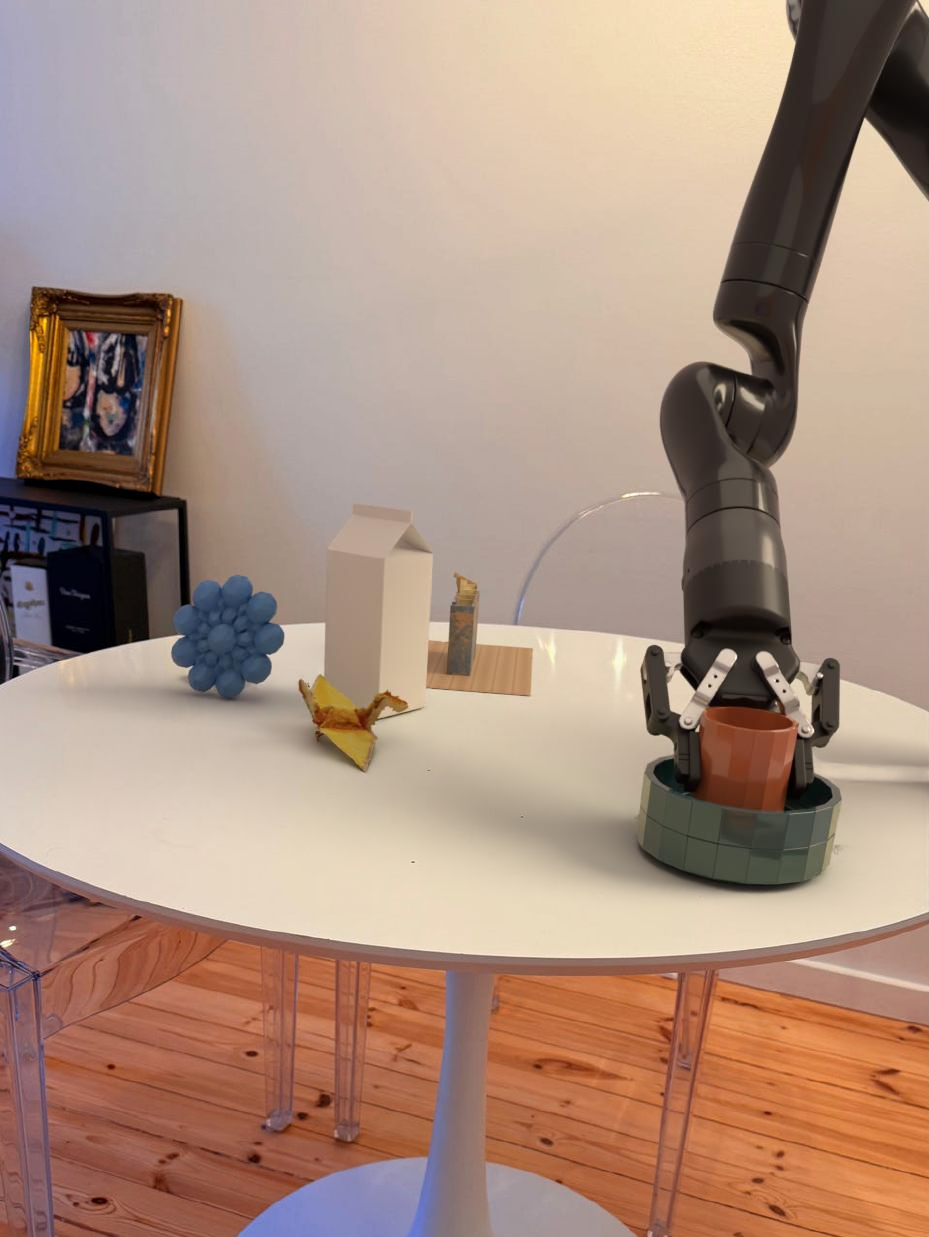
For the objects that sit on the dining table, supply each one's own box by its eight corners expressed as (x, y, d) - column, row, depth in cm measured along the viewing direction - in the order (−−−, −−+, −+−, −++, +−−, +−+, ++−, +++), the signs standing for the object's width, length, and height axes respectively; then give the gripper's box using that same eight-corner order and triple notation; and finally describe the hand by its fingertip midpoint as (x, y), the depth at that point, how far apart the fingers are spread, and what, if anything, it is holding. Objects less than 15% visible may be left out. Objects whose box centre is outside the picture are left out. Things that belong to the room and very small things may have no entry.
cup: (759, 827, 84) (780, 708, 80) (789, 861, 78) (812, 733, 74) (674, 824, 83) (691, 703, 80) (697, 857, 77) (717, 729, 74)
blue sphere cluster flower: (300, 695, 114) (302, 574, 110) (273, 711, 108) (274, 583, 104) (193, 681, 117) (191, 562, 113) (160, 696, 111) (157, 570, 106)
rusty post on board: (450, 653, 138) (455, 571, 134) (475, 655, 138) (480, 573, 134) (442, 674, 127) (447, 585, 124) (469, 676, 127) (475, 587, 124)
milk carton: (377, 721, 107) (386, 512, 101) (322, 705, 111) (327, 503, 104) (425, 708, 113) (436, 509, 106) (371, 694, 116) (378, 501, 110)
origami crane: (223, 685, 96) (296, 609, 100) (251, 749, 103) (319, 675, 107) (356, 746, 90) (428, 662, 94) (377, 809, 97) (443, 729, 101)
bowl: (789, 824, 87) (801, 755, 85) (857, 895, 75) (873, 817, 73) (619, 818, 86) (627, 748, 84) (660, 889, 74) (671, 809, 72)
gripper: (647, 548, 81) (649, 758, 74) (849, 563, 81) (870, 773, 74) (629, 610, 87) (629, 807, 81) (815, 624, 88) (832, 821, 81)
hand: (744, 790), depth 77 cm, fingers closed on cup, 6 cm apart
